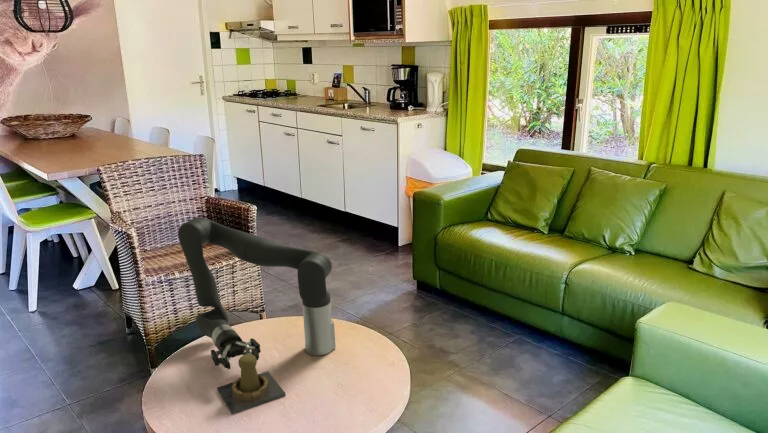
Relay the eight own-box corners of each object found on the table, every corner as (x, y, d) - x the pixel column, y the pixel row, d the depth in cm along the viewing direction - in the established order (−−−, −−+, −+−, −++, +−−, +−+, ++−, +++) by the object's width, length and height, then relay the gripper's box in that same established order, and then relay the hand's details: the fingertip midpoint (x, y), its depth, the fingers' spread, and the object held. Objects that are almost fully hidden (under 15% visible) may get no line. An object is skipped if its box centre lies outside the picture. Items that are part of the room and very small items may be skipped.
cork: (255, 396, 167) (252, 363, 164) (236, 394, 168) (232, 361, 165) (264, 385, 172) (261, 352, 169) (245, 383, 174) (242, 350, 170)
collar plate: (268, 374, 180) (267, 365, 179) (285, 395, 169) (284, 386, 168) (217, 390, 172) (216, 381, 171) (231, 414, 161) (230, 405, 160)
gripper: (203, 335, 181) (218, 357, 167) (247, 323, 188) (265, 344, 175) (205, 356, 183) (221, 380, 170) (249, 344, 190) (267, 365, 177)
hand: (243, 362), depth 172 cm, fingers open, 8 cm apart
